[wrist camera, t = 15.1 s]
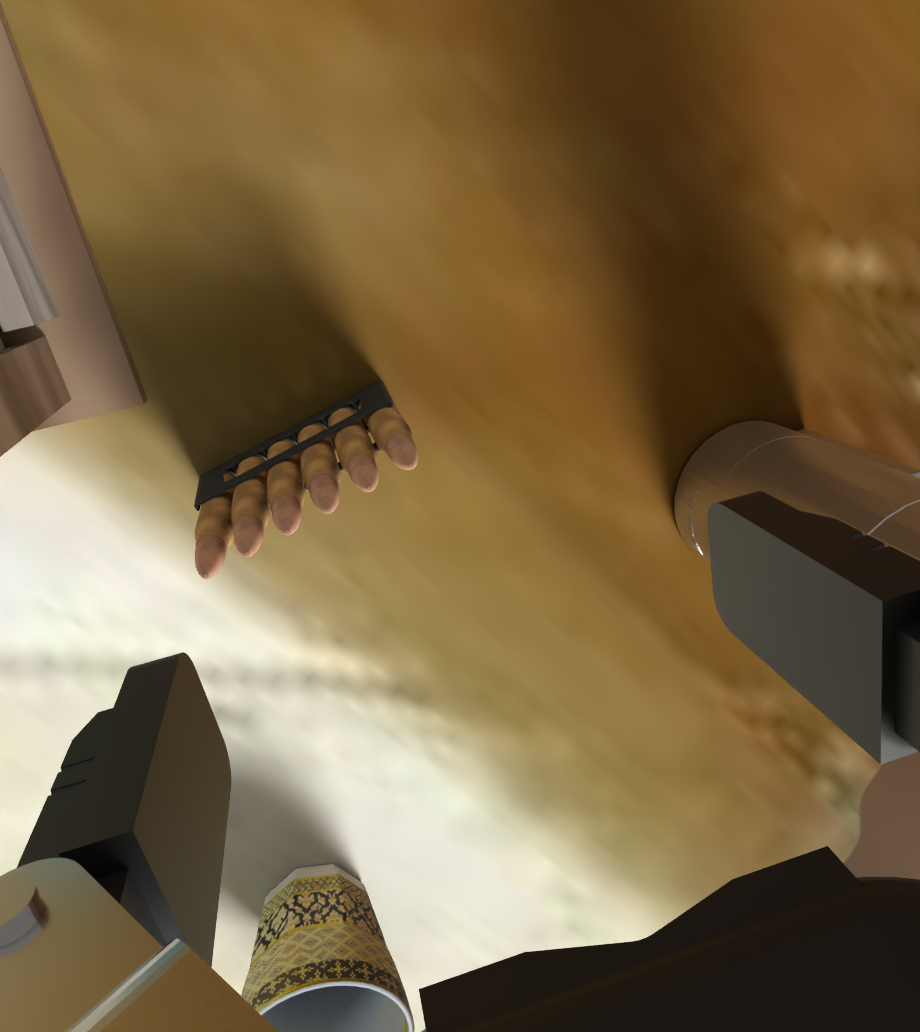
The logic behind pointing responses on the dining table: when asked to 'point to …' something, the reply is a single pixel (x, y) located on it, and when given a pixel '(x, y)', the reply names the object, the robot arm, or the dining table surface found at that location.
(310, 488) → the ammunition clip
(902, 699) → the robot arm
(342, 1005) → the ceramic cup
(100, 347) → the hinge frame
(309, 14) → the dining table surface
